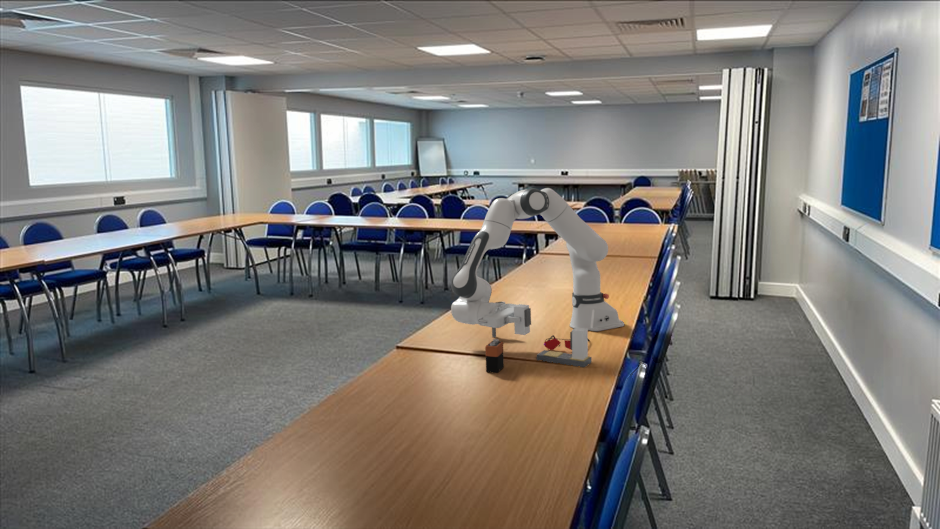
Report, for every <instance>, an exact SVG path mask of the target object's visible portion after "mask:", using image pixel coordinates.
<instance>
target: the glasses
mask: <svg viewBox="0 0 940 529" xmlns="http://www.w3.org/2000/svg"><path fill="white" fill-rule="evenodd" d="M561 340H564V347H565V349H566V348H567V350H571V351H572V349H570V338H569V339H567V338H561ZM588 342H590V338H588ZM561 344H562V342H561V341H560V340H559V339H558V338H556V336H555V335H553V334H552V335H551V336H550V337H549V338H546V339H545V340H544V343H543V346H544V348H546V349H548V350H549V349H550V350H549V351H554V350H555V349H556V348H557V347H558V348H559V347H561Z"/></svg>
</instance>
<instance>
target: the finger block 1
mask: <svg viewBox="0 0 940 529" xmlns="http://www.w3.org/2000/svg"><path fill="white" fill-rule="evenodd" d="M531 311H532V310H531V308H530V305H529V304H522V303H521V304H520V303H519V304H516V306H514V317H521V322H519V323H513V324H514V325H513V326H514V334H515V335H519V336H520V335H521V336H527V334H530V332H531V326H532V312H531Z"/></svg>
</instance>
